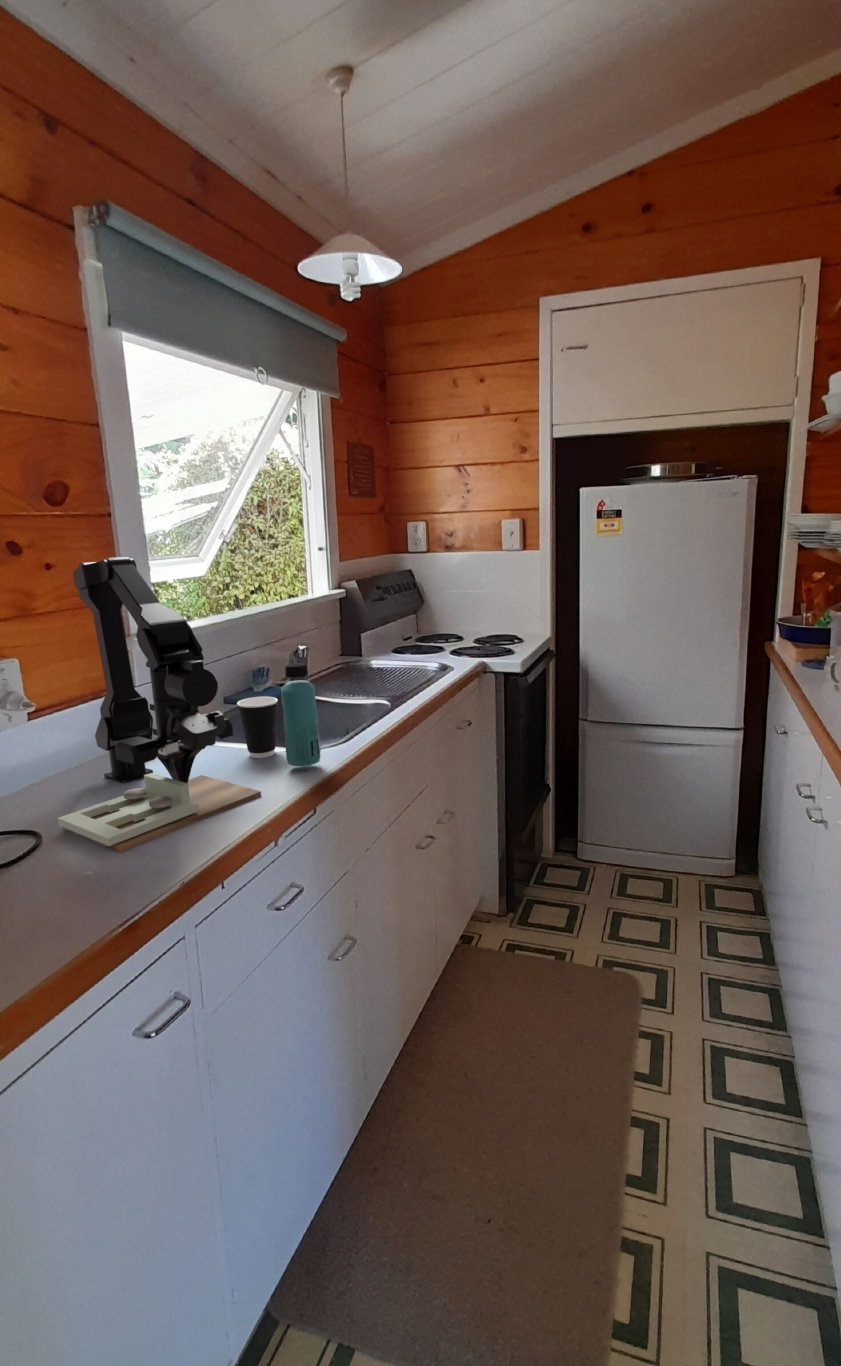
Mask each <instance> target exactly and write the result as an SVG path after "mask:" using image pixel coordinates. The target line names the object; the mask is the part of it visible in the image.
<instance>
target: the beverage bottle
mask: <svg viewBox="0 0 841 1366" xmlns="http://www.w3.org/2000/svg"><path fill="white" fill-rule="evenodd" d="M284 668H285V669H284V675H285V677H286V678H302V677H306V676H307V677H308V675H309V671H308V666H307V663H305V662H294V663H289V664H286V665H285V667H284ZM280 693H281V705H282V716H283V721H282V722H283V732H284V733H283V734H284V735H283V736H284V750H285V755H286V761H287V764H288V765H289V766H292V767H293V766H294V767H309V766H312V765H316V764H318V763H319V762H320V761H321V754H322V753H321V746H320V736H319V733H320V730H319V723H318V722H319V721H318V715H319V714H318V709H317V708H318V707H317V702H316V686H315V685H314V684H313V683H312V682H311V681H309V680H303V679H300V680H299V679H298V680H297V679H295V680H290V681H287V682H286V683H285V684H283V686H282V687H281V689H280Z"/></svg>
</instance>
